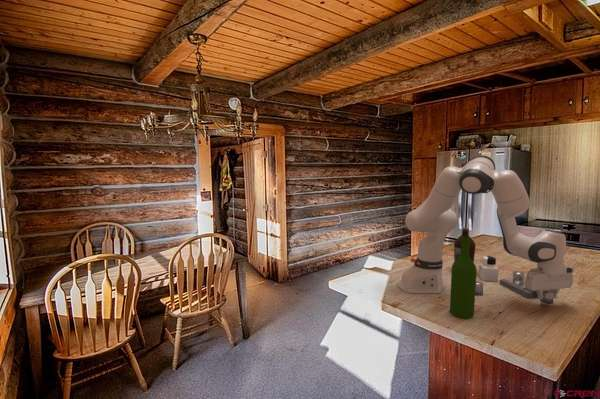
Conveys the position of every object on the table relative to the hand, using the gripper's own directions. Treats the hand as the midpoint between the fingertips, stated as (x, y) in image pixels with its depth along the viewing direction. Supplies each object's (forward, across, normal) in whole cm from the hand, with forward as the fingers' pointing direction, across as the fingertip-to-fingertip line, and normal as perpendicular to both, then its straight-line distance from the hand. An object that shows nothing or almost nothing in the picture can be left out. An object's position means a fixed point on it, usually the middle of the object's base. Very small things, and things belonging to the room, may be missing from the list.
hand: (546, 298), depth 137 cm
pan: (+1, +6, +18) cm, 19 cm away
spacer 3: (+2, 0, 0) cm, 2 cm away
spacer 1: (+4, -20, +16) cm, 26 cm away
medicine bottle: (+4, -2, +32) cm, 32 cm away
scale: (+4, +6, +16) cm, 18 cm away
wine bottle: (+4, -40, 0) cm, 40 cm away
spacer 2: (0, +3, +18) cm, 18 cm away
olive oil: (+4, -8, +44) cm, 45 cm away
